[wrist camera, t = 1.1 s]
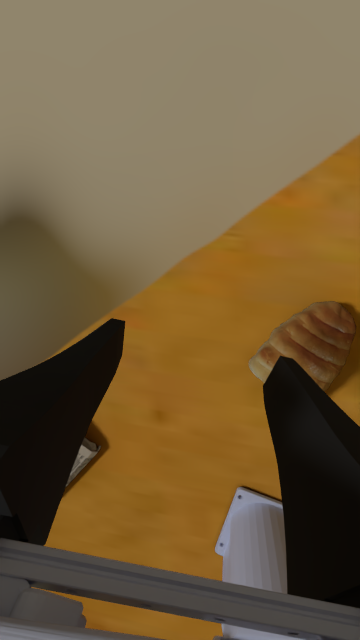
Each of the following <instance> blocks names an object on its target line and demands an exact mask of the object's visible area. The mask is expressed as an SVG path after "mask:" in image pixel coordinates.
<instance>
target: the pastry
mask: <svg viewBox="0 0 360 640" xmlns="http://www.w3.org/2000/svg"><path fill="white" fill-rule="evenodd" d="M355 333H356V325H355V322H354V319H353V317H352V316H351V313H349V312H348V311H347V310H346V309H345V308H344V307H342V306H341V305H340V304H339V303H337V302H334V301H329V302H317V303H313V304H311V305H310V306H309V307H308V308H306V309H304V310H303V311H302V312H300V313H298V314H295V315H293V316H292V317H291V318H290V319H289V320H287V321H286V322H285V323H282V324H281V325H280V326H279V327H277V328H276V329H274V330H273V332H272V333H271V336H270V338H269V340H268V341H266V342H265V343H264V344H263V345H262V346H261V347H260V349H259V350H258V352H257V354H256V355H255V356H253V357H252V358H251V359H250V360H249V368H250V369H251V371H252V372H253V373H254V374H255V376H256V377H258V378H259V379H261V380H262V381H263V382H264V383H265V381H266V379H267V378H268V376H269V374H270V372H271V371H272V369H273V367H274V365H275V364H276V362H277V360H278V358H279V357H280V356H284V357H289V358H293V359H294V360H295V361H296V362H297V363H298V364H299V365H300V366H301V367H302V368H303V369H304V370H305V371H306V372H307V373H308V375H309V376H310V377H311V378H312V379H313V380H314V381H315V382H316V383H317V384H318V385H319V387H320V388H321V389H322V390H323V391H325V390H327V389H328V388H329V386H330V384H331V383H332V381H333V380H334V378H336V377H337V375H338V374H339V373H340V370H341V369H342V367H343V366H344V365H345V362H346V358H347V356H348V354H349V348H350V345H351V343H352V340H353V337H354V335H355Z"/></svg>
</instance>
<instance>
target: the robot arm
mask: <svg viewBox="0 0 360 640" xmlns="http://www.w3.org/2000/svg"><path fill="white" fill-rule="evenodd" d="M124 329H125V321H122V320H118V319H113V318H112V319H110V320H108V321H107V322H106V323H104V324H103V325H102V326H100V327H99V328H98V329H96V330H95V331H93V332H92V333H91V334H89V335H88V336H86V337H85V338H83V339H82V340H80V341H79V342H77V343H76V344H74V345H72V346H71V347H69V348H68V349H66V350H64V351H63V352H61V353H59V354H57V355H56V356H54V357H52V358H50V359H48V360H46V361H44V362H42V363H40V364H38V365H36V366H34V367H32V368H30V369H27V370H25V371H23V372H20V373H18V374H16V375H13V376H11V377H8V378H6V379H3V380H1V381H0V640H165V639H159V638H152V637H145V636H138V635H131V634H124V633H117V632H110V631H103V630H96V629H89V628H85V625H86V618H85V616H84V615H82V610H83V605H82V603H81V602H78V601H75V600H72V599H69V598H66V597H63V596H60V595H57V594H54V593H50V592H47V591H44V590H40V589H45V590H51V591H56V592H61V593H66V594H71V595H76V596H82V597H87V598H92V599H97V600H102V601H108V602H113V603H118V604H123V605H128V606H134V607H139V608H144V609H149V610H154V611H159V612H165V613H170V614H175V615H180V616H185V617H191V618H196V619H201V620H206V621H211V622H216V623H222V631H223V637H221V636H215V637H214V638H213V640H360V427H359V426H358V425H357V424H356V423H355V422H354V421H353V420H352V419H351V418H350V417H349V416H348V415H347V414H346V413H345V412H344V411H343V410H342V409H341V408H340V407H338V406H337V404H336V403H335V402H334V401H333V400H332V399H331V398H330V397H329V396H328V395H327V394H326V393H325V392H324V391H323V390H322V389H321V388H320V387H319V385H318V384H317V383H316V382H315V381H314V380H313V379H312V378H311V377H310V376H309V375H308V373H307V372H306V371H305V370H304V369H303V368H302V367H301V366H300V365H299V364H298V363H297V362H296V361H295V360H294V359H293V358H289V357H284V356H280V357H279V358H278V360H277V362H276V364H275V365H274V367H273V369H272V371H271V372H270V374H269V376H268V378H267V379H266V381H265V383H264V385H263V394H264V404H265V410H266V415H267V419H268V424H269V428H270V432H271V436H272V441H273V445H274V449H275V454H276V459H277V464H278V471H279V479H280V487H281V496H282V502H280V501H277V500H274V499H272V498H269V497H267V496H264V495H261V494H259V493H256V492H254V491H251V490H248V489H246V488H243V487H239V488H237V490H236V493H235V496H234V498H233V501H232V504H231V506H230V509H229V512H228V514H227V517H226V520H225V522H224V525H223V528H222V530H221V533H220V536H219V538H218V541H217V543H216V546H215V552H216V553H217V554H219V555H221V556H223V579H222V581H218V580H213V579H208V578H203V577H198V576H192V575H187V574H182V573H177V572H172V571H167V570H162V569H157V568H152V567H147V566H142V565H137V564H132V563H127V562H121V561H116V560H111V559H106V558H101V557H96V556H91V555H86V554H81V553H76V552H71V551H66V550H61V549H56V548H50V547H45V546H43V545H45V544H46V541H47V538H48V535H49V532H50V529H51V526H52V523H53V521H54V518H55V515H56V512H57V509H58V506H59V504H60V501H61V498H62V495H63V492H64V490H65V487H66V484H67V482H68V479H69V476H70V473H71V471H72V468H73V466H74V463H75V460H76V458H77V455H78V452H79V450H80V447H81V445H82V442H83V440H84V437H85V435H86V432H87V430H88V427H89V425H90V423H91V421H92V418H93V416H94V414H95V412H96V410H97V408H98V407H99V405H100V403H101V401H102V399H103V397H104V395H105V393H106V391H107V389H108V387H109V385H110V383H111V381H112V379H113V377H114V375H115V373H116V370H117V368H118V365H119V362H120V359H121V357H122V351H123V340H124ZM239 495H241V496H239ZM31 587H35V588H40V589H34V588H31Z"/></svg>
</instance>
